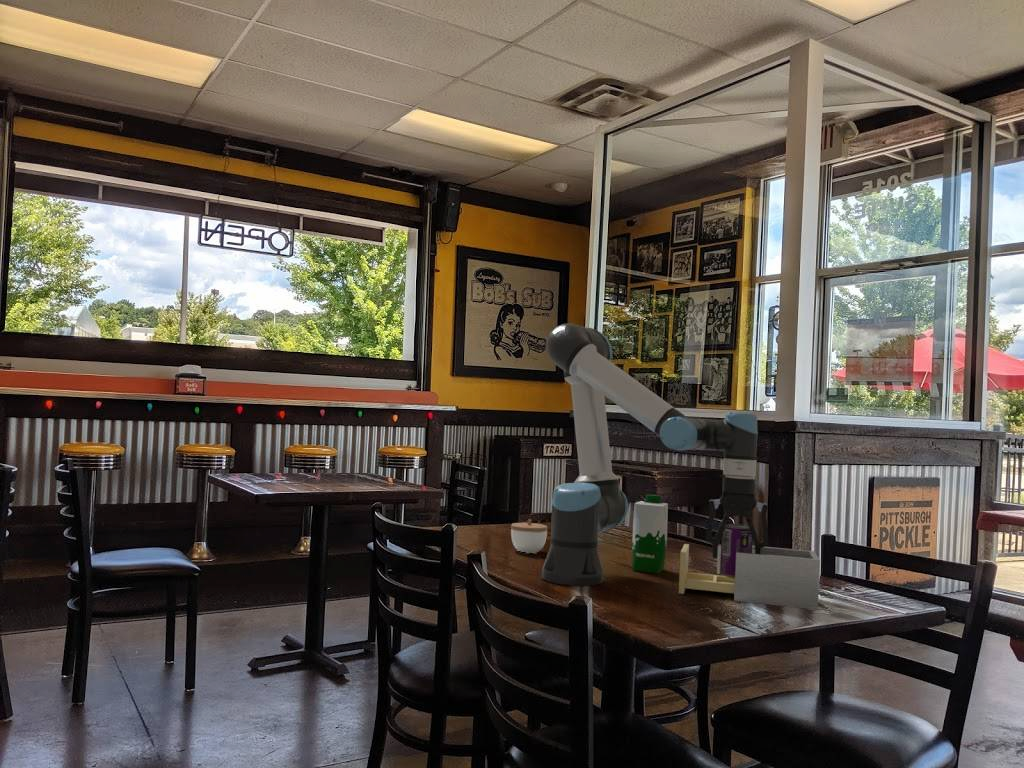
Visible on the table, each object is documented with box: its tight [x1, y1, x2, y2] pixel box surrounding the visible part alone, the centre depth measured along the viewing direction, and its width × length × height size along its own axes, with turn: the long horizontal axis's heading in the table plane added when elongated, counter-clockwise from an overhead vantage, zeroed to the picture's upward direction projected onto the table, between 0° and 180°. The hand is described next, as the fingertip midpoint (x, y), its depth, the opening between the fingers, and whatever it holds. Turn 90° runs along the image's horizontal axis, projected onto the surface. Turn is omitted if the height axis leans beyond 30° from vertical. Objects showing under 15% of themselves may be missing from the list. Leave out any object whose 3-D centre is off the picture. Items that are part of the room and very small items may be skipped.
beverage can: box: [720, 523, 753, 578], centre depth 192 cm, size 7×7×12 cm
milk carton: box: [631, 493, 669, 574], centre depth 218 cm, size 9×9×20 cm
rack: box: [678, 543, 735, 595], centre depth 193 cm, size 18×14×10 cm
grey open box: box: [733, 545, 821, 611], centre depth 190 cm, size 18×14×11 cm
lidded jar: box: [510, 518, 548, 554], centre depth 238 cm, size 11×11×9 cm
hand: (735, 574), depth 192 cm, fingers closed on beverage can, 7 cm apart
